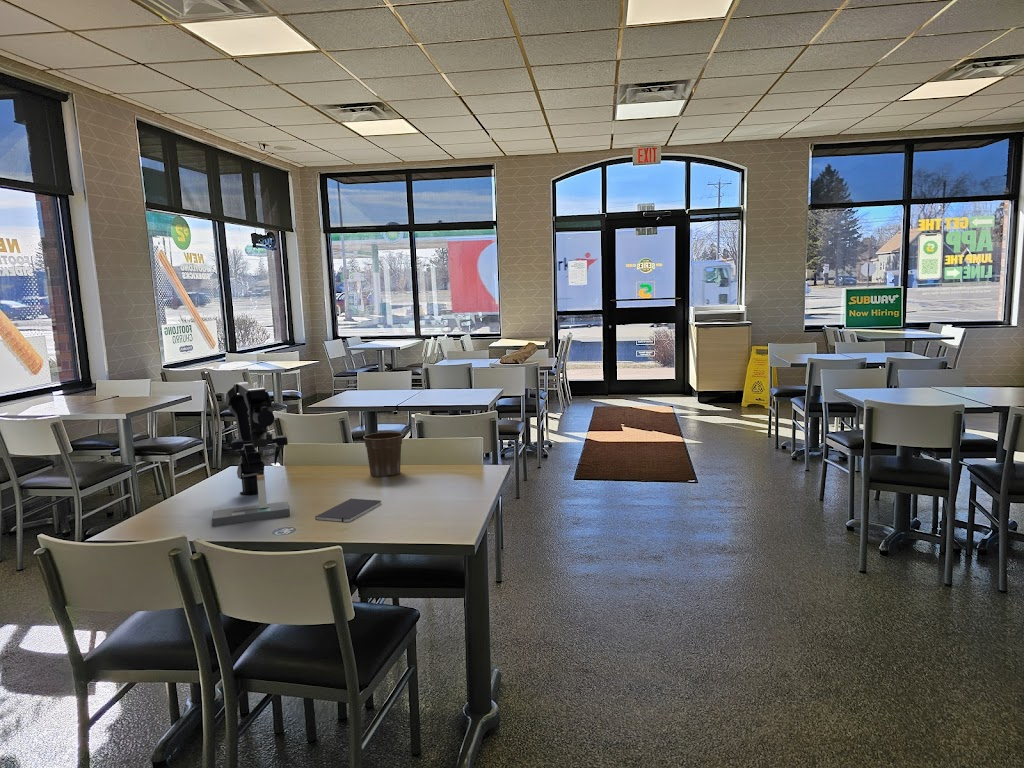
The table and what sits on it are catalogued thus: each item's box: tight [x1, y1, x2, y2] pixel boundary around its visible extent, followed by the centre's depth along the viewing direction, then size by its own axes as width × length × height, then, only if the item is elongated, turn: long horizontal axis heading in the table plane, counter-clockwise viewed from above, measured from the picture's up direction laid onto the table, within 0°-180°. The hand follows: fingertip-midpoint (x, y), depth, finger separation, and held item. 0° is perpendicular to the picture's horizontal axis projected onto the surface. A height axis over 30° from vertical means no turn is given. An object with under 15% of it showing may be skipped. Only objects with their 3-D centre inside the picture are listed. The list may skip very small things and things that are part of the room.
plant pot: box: [363, 431, 404, 478], centre depth 286 cm, size 16×16×16 cm
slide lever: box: [257, 474, 268, 509], centre depth 234 cm, size 2×3×11 cm
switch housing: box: [211, 500, 291, 527], centre depth 234 cm, size 24×10×2 cm, turn 110°
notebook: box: [314, 498, 382, 523], centre depth 236 cm, size 13×2×21 cm
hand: (261, 466), depth 250 cm, fingers open, 9 cm apart
